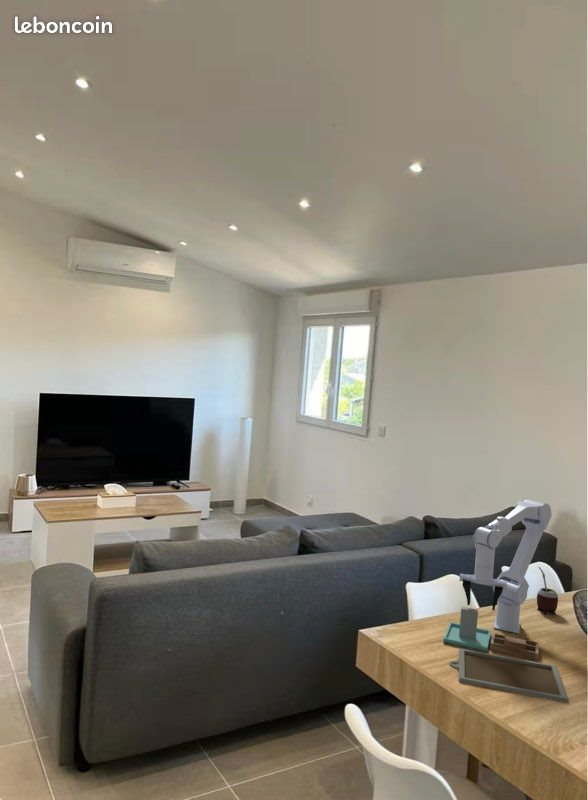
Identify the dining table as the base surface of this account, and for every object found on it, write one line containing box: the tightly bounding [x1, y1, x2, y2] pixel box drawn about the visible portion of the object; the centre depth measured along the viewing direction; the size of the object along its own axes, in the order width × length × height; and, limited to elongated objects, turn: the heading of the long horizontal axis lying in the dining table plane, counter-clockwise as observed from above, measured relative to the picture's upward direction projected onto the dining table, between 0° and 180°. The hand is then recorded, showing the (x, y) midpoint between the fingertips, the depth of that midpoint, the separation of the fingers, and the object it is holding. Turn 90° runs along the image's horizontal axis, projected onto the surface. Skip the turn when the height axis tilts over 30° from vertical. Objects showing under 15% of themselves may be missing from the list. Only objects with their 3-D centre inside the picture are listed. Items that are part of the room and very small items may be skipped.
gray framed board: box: [449, 648, 569, 704], centre depth 167 cm, size 19×2×30 cm
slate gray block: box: [459, 606, 479, 640], centre depth 188 cm, size 2×5×9 cm, turn 68°
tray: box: [442, 621, 492, 653], centre depth 188 cm, size 14×13×2 cm
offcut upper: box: [504, 636, 526, 650], centre depth 181 cm, size 3×6×2 cm, turn 72°
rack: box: [489, 632, 540, 662], centre depth 183 cm, size 8×14×2 cm, turn 67°
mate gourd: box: [536, 566, 559, 616], centre depth 216 cm, size 8×8×15 cm
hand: (481, 606), depth 192 cm, fingers open, 7 cm apart
